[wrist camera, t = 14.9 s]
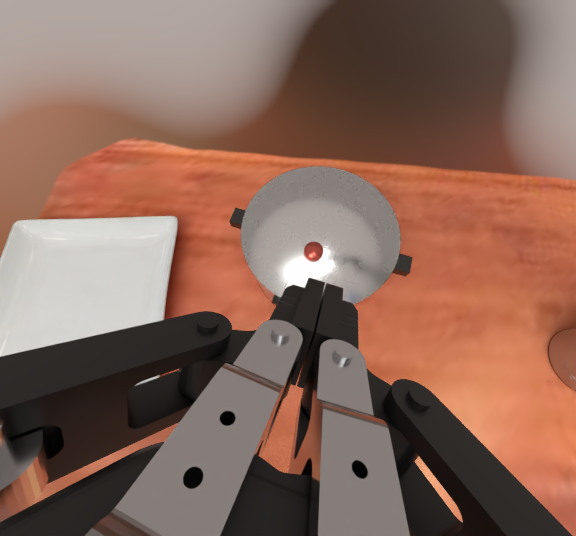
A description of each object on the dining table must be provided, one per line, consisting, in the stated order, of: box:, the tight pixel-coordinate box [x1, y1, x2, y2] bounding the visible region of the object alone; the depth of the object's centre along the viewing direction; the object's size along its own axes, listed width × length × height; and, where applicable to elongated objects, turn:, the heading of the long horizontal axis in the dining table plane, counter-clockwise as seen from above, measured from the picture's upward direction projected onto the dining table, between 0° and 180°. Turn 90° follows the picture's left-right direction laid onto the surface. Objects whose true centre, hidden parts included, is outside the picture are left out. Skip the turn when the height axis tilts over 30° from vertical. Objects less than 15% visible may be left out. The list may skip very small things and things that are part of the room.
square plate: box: [0, 216, 178, 386], centre depth 42 cm, size 27×27×4 cm
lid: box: [241, 166, 401, 305], centre depth 36 cm, size 22×21×2 cm
